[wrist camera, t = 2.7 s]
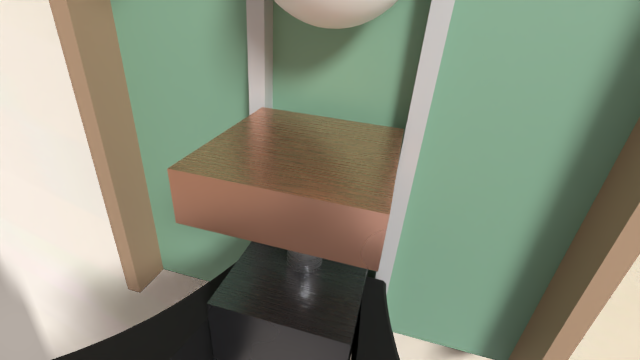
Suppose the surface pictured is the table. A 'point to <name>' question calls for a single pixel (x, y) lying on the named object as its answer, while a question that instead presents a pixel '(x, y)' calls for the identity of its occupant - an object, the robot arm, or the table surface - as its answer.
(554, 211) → the pitch
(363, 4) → the ball
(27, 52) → the table surface
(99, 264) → the table surface
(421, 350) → the table surface
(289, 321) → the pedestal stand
